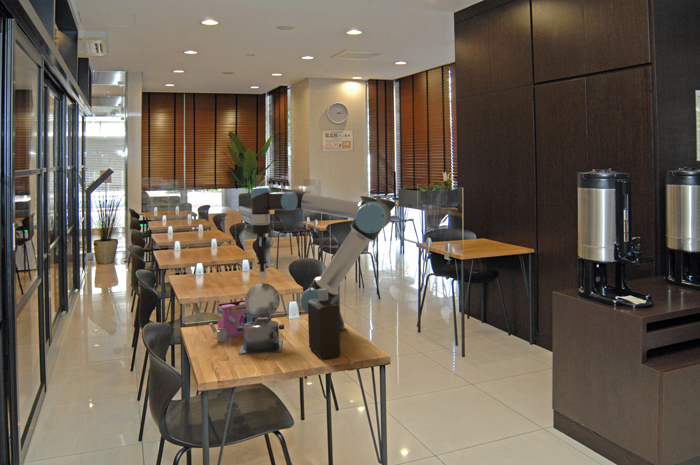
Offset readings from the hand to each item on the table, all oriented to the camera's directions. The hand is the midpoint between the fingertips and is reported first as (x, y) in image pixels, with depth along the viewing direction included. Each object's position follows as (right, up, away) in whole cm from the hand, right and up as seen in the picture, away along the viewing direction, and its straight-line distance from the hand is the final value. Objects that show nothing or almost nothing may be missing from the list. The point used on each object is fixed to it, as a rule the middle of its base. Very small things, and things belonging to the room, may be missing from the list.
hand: (262, 278), depth 238 cm
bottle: (+28, -27, -24) cm, 45 cm away
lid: (+1, -9, -7) cm, 11 cm away
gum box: (-9, -25, +8) cm, 27 cm away
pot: (+2, -26, -15) cm, 30 cm away
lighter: (-18, -26, -5) cm, 32 cm away
